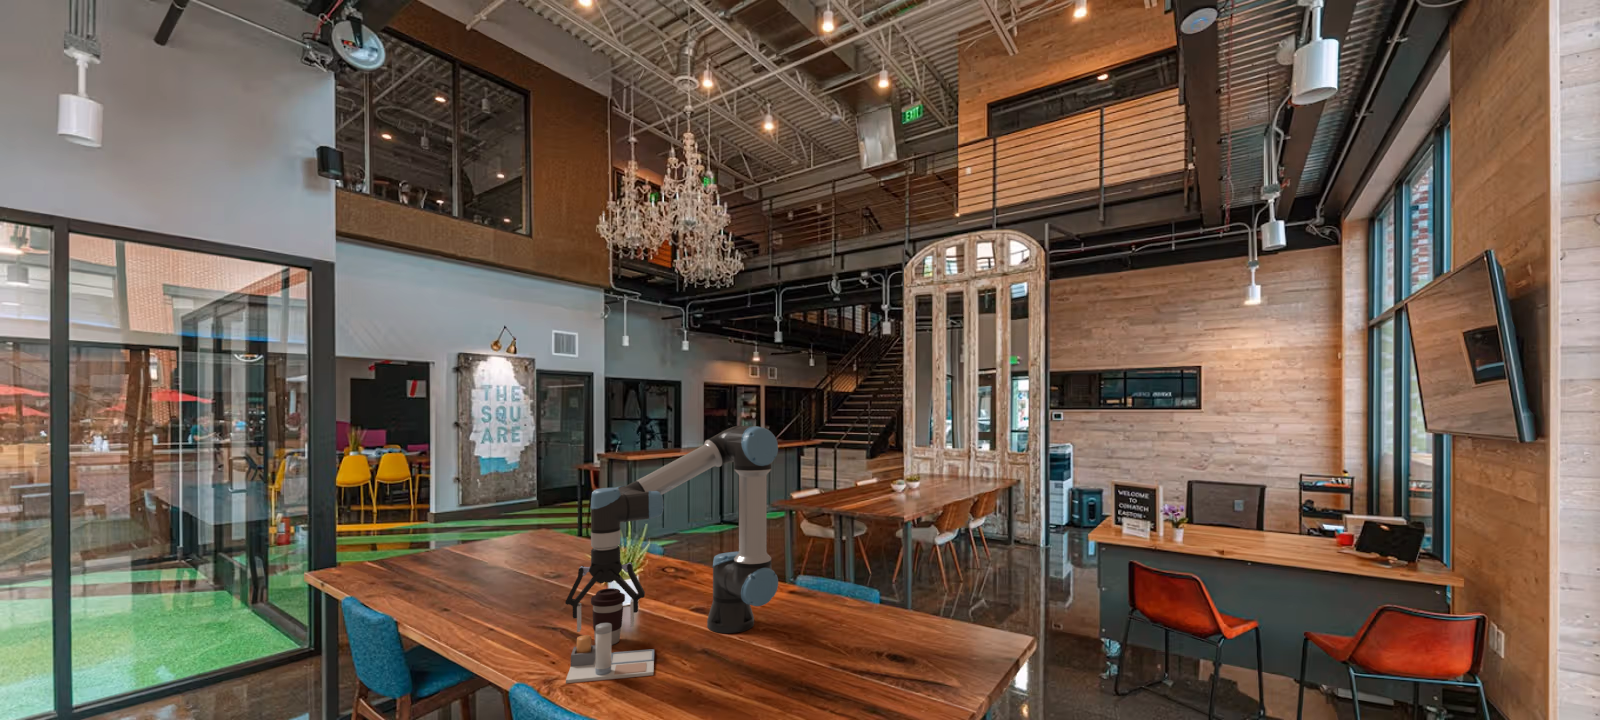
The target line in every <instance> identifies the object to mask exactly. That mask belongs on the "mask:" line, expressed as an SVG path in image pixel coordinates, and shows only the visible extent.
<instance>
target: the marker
mask: <svg viewBox="0 0 1600 720" xmlns="http://www.w3.org/2000/svg"><path fill="white" fill-rule="evenodd" d="M611 632H612V624H611V623H601V624H598V625H596V644H595V645H596V667H595V673H596V674H597V675H606V674H609V673H610V672H611V653H612V645H611Z"/></svg>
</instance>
